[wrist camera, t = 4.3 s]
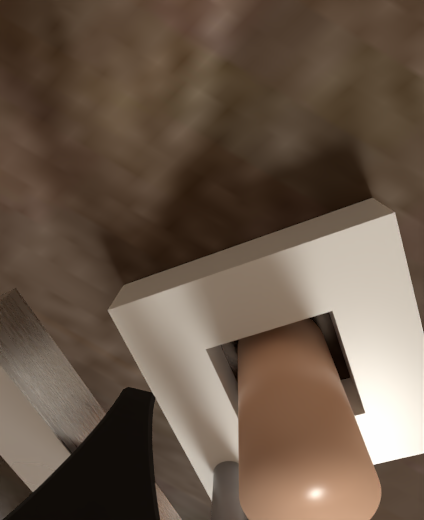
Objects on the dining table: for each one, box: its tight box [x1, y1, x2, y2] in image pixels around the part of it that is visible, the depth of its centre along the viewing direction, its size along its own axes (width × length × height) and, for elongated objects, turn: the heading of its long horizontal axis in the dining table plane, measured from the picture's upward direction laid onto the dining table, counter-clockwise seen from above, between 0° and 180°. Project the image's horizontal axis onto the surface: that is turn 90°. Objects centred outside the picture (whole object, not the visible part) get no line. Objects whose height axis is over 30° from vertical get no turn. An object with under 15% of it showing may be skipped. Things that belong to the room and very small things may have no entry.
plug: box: [238, 318, 381, 520], centre depth 16 cm, size 4×4×8 cm
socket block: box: [108, 198, 424, 520], centre depth 16 cm, size 12×12×8 cm
